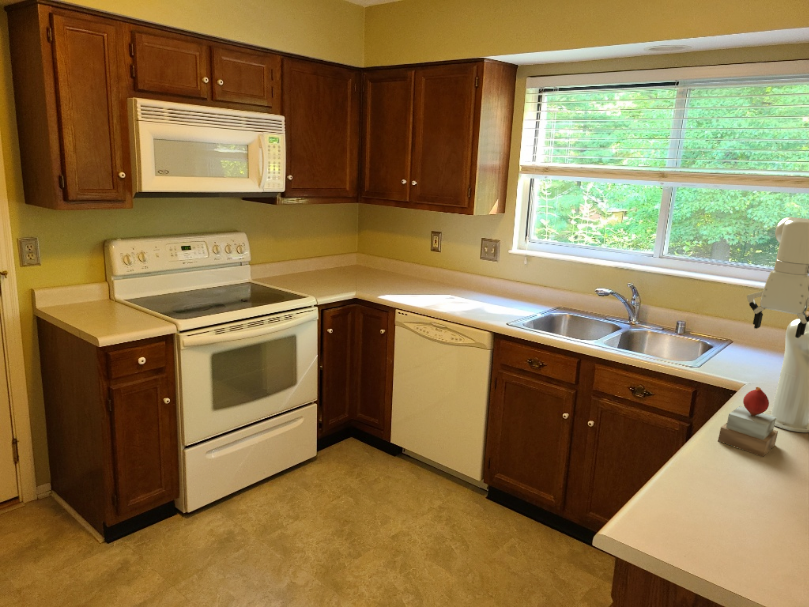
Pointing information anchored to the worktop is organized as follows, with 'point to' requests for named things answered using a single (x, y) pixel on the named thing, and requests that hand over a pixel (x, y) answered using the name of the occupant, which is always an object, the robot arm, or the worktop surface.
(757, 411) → the onion
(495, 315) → the worktop surface
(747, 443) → the wood and metal block
